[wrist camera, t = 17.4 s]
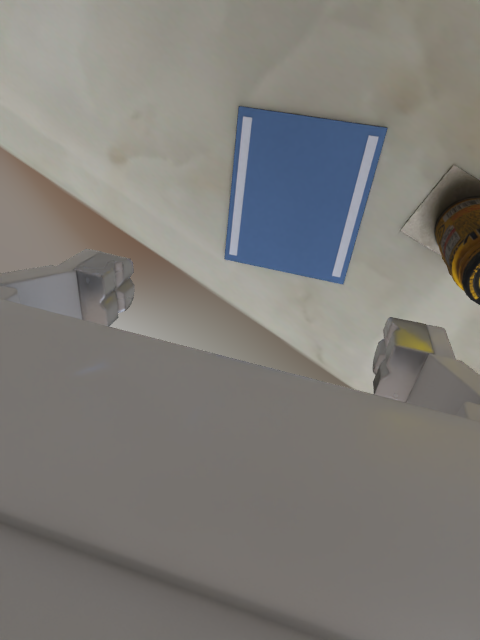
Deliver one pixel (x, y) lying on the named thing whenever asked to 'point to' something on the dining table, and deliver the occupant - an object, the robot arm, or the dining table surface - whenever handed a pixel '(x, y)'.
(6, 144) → the dining table surface
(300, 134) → the napkin
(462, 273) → the condiment
